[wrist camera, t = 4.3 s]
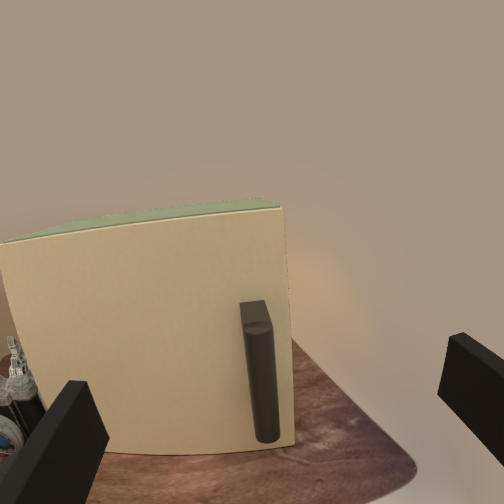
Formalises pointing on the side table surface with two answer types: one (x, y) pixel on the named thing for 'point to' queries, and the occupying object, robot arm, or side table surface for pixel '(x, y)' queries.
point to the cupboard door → (164, 328)
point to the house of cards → (18, 360)
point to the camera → (18, 411)
